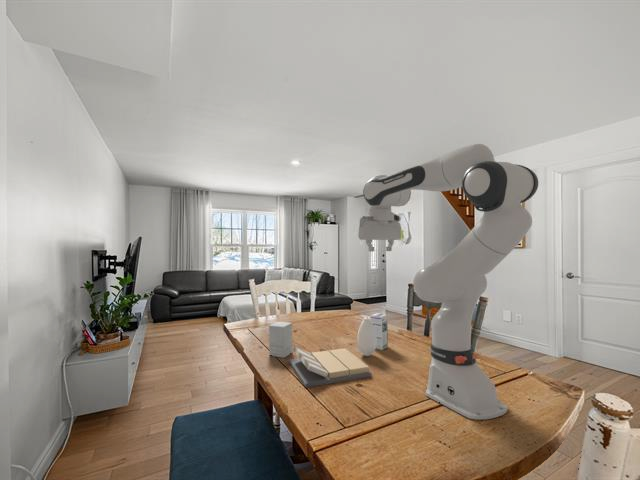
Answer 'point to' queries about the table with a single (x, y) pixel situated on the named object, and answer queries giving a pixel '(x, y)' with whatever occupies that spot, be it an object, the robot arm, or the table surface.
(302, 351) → the whitewashed plank
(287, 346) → the supplement box
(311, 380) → the floor panel
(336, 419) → the table surface
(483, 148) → the robot arm
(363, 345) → the sauce bottle
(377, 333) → the syrup box
